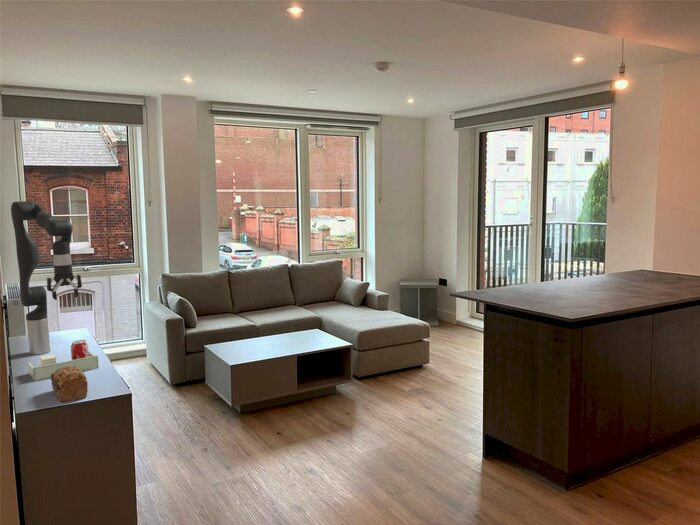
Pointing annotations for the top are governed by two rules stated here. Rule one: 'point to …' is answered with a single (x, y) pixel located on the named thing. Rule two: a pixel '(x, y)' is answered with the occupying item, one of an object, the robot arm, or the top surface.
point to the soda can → (79, 349)
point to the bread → (69, 384)
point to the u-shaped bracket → (47, 370)
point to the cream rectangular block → (47, 360)
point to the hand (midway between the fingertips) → (65, 298)
